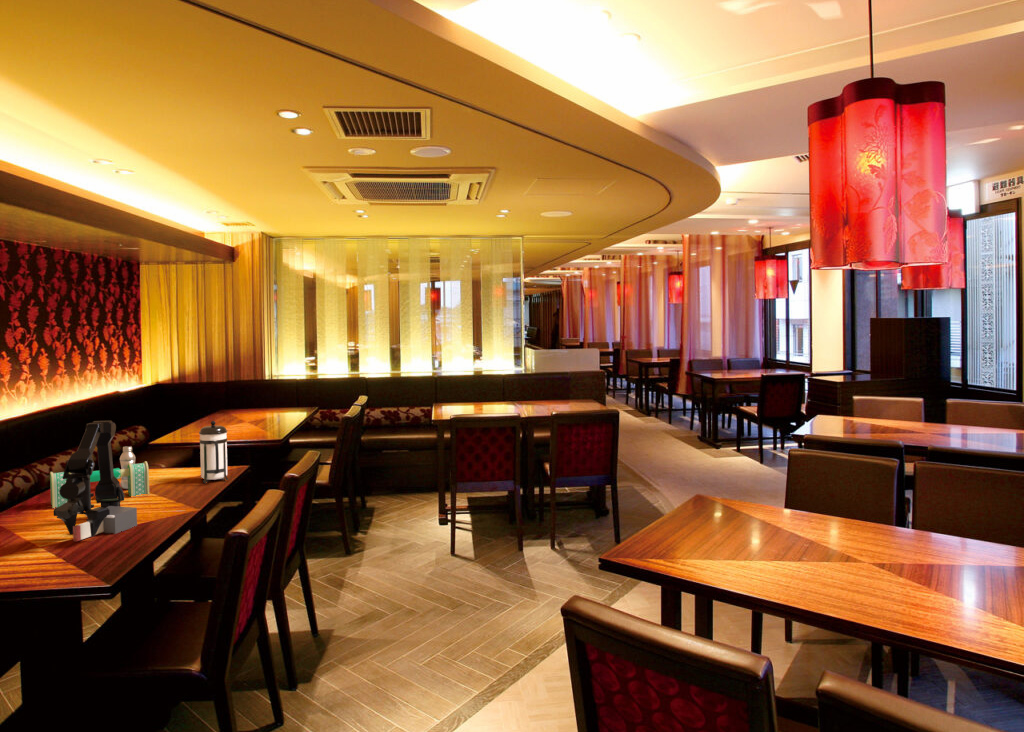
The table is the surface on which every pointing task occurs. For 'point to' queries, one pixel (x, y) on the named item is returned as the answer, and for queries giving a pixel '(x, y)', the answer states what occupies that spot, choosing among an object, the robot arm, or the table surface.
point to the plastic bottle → (126, 463)
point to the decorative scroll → (135, 473)
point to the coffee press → (213, 452)
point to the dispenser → (120, 519)
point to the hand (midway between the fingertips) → (82, 535)
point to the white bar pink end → (85, 531)
